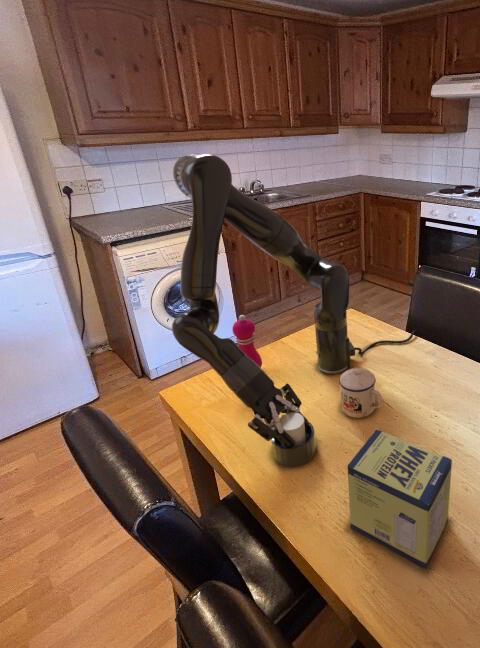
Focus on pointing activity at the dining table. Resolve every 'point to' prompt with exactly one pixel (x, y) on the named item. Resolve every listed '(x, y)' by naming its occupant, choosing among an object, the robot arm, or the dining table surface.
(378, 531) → the protein box
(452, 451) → the dining table surface
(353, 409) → the teacup with lid
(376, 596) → the dining table surface
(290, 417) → the plain white cylinder
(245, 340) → the pepper mill
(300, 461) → the dark round open container
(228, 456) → the dining table surface
